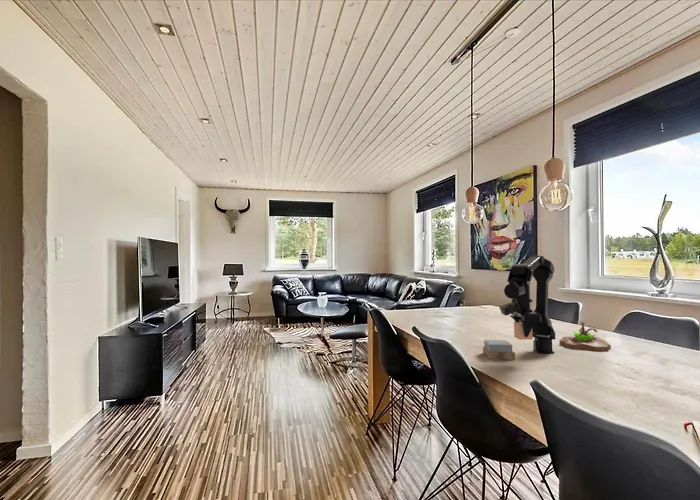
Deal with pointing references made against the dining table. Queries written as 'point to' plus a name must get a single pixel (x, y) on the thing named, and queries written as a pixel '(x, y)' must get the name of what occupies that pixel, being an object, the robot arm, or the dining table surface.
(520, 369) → the dining table surface
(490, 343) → the tower top
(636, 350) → the dining table surface
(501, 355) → the tower base
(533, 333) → the robot arm
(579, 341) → the plant
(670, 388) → the dining table surface
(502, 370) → the dining table surface
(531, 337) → the terracotta block
